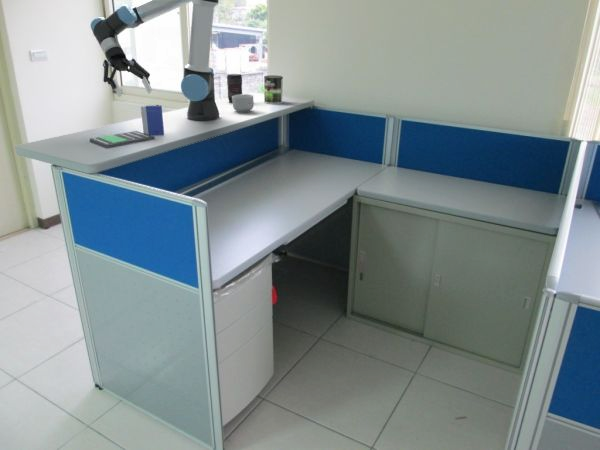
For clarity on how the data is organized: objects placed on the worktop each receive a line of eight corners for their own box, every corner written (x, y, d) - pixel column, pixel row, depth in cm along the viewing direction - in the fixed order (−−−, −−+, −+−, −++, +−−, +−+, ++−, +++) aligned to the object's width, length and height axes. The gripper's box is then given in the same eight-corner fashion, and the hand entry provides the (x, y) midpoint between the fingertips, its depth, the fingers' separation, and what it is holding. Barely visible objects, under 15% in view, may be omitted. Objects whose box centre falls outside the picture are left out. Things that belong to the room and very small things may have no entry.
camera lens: (244, 101, 283) (244, 74, 277) (239, 104, 276) (238, 75, 270) (231, 100, 285) (230, 73, 279) (225, 103, 278) (224, 74, 272)
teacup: (252, 113, 252) (252, 97, 249) (230, 113, 252) (230, 97, 249) (255, 108, 264) (255, 93, 261) (234, 108, 265) (234, 92, 261)
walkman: (164, 133, 210) (161, 104, 205) (163, 135, 207) (160, 105, 202) (144, 133, 209) (141, 104, 204) (143, 135, 206) (140, 105, 202)
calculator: (136, 133, 210) (136, 130, 209) (154, 139, 201) (154, 136, 200) (89, 141, 196) (89, 137, 196) (107, 147, 187) (106, 144, 187)
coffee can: (275, 104, 276) (275, 78, 270) (260, 102, 281) (260, 76, 275) (286, 102, 284) (286, 76, 279) (271, 100, 289) (271, 74, 284)
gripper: (137, 56, 223) (159, 95, 219) (82, 59, 206) (104, 101, 203) (142, 44, 217) (164, 84, 214) (86, 46, 201) (109, 89, 197)
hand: (135, 93), depth 208 cm, fingers open, 13 cm apart
